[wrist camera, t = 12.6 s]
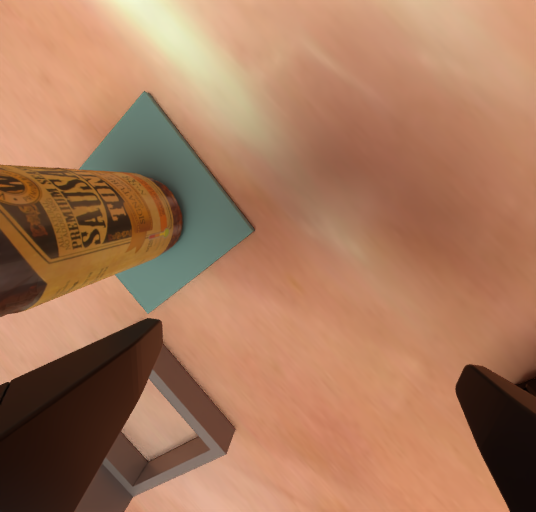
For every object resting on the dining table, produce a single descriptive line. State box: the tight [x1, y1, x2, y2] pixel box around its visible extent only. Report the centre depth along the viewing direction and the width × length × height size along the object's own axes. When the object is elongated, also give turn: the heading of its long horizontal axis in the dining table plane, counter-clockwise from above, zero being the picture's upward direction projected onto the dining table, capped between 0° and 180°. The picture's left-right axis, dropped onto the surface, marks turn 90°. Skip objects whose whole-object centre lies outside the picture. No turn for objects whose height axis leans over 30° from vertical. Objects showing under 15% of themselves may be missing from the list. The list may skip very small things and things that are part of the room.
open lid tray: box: [74, 344, 235, 512], centre depth 21 cm, size 13×14×14 cm
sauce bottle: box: [0, 165, 183, 317], centre depth 12 cm, size 6×6×20 cm
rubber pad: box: [79, 91, 255, 313], centre depth 21 cm, size 12×12×1 cm
